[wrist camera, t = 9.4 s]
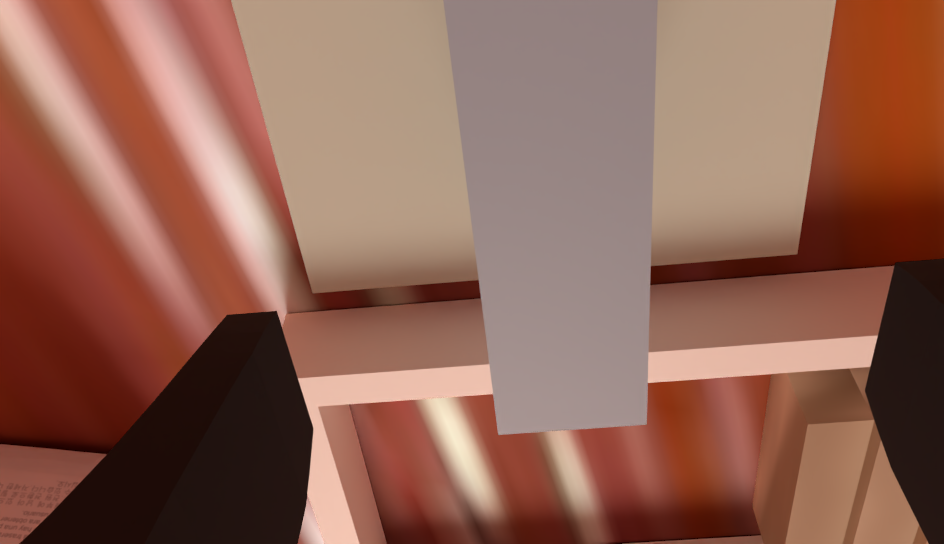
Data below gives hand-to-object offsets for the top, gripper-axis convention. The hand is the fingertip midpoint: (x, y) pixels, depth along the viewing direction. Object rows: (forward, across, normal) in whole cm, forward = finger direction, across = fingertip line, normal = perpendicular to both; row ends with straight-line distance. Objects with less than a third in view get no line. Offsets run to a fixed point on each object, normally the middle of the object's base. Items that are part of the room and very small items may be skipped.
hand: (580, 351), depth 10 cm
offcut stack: (+10, -8, +13) cm, 18 cm away
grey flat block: (+9, 0, 0) cm, 9 cm away
